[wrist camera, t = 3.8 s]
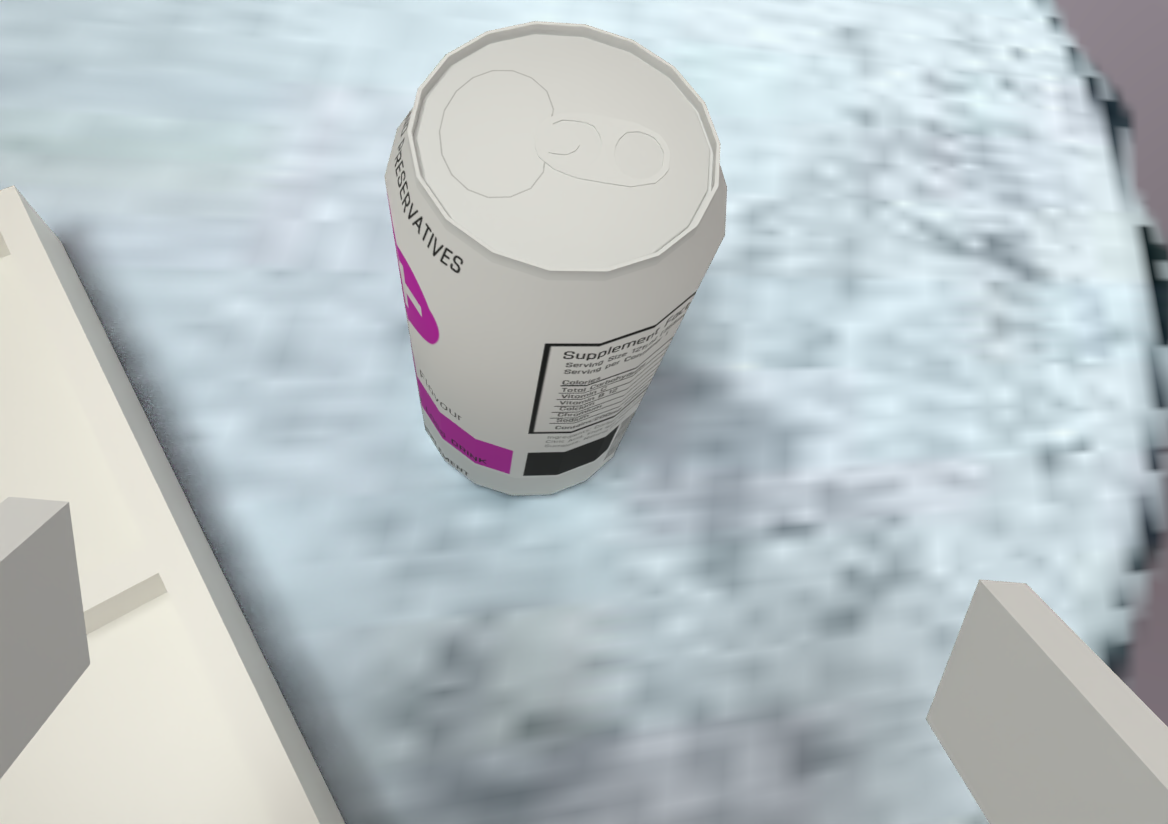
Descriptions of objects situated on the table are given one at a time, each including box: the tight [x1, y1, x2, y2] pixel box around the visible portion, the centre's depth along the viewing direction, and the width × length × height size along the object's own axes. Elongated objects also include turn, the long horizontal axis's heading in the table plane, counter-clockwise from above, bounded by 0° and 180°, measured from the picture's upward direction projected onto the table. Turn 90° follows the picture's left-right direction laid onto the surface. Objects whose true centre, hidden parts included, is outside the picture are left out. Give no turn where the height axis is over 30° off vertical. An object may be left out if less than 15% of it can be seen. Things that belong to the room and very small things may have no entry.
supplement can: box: [385, 21, 727, 496], centre depth 24 cm, size 8×8×15 cm
